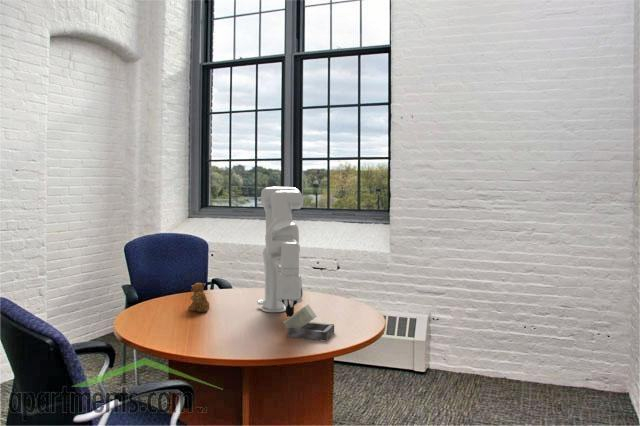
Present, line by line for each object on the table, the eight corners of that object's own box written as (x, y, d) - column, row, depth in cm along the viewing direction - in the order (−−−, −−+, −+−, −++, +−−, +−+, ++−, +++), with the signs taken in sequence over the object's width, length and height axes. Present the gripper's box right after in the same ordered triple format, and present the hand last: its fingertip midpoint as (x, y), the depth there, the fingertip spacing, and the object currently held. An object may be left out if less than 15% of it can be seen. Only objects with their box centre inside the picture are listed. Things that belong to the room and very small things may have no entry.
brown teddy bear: (207, 306, 259) (207, 280, 258) (213, 313, 246) (213, 285, 245) (187, 308, 255) (187, 281, 254) (192, 315, 242) (191, 287, 241)
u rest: (287, 336, 210) (287, 328, 209) (298, 328, 221) (298, 320, 221) (325, 341, 205) (325, 332, 205) (334, 332, 216) (334, 324, 216)
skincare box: (295, 331, 217) (317, 316, 213) (291, 334, 213) (313, 319, 209) (286, 318, 218) (308, 303, 214) (282, 321, 214) (304, 306, 210)
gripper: (269, 272, 212) (269, 316, 213) (304, 274, 208) (303, 319, 209) (276, 269, 220) (276, 312, 220) (310, 271, 215) (309, 315, 216)
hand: (289, 315), depth 214 cm, fingers closed
